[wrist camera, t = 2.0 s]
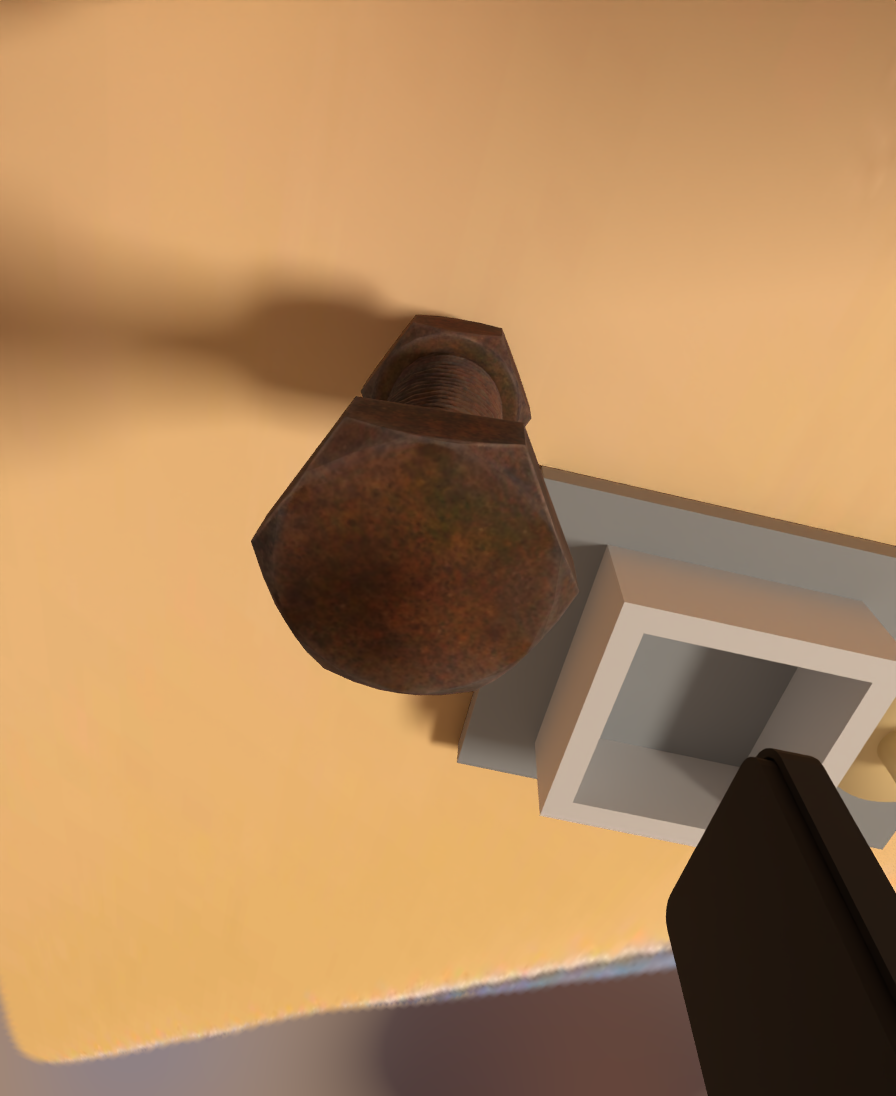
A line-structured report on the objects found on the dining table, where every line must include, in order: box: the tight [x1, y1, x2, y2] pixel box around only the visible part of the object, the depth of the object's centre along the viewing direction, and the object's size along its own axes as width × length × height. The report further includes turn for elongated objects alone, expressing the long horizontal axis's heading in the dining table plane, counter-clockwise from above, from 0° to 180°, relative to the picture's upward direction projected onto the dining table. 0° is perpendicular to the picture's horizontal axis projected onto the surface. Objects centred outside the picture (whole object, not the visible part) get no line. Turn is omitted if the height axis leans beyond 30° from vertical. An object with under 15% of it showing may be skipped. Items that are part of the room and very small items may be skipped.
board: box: [457, 466, 896, 849], centre depth 28 cm, size 20×14×7 cm
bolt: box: [251, 315, 579, 695], centre depth 19 cm, size 6×5×15 cm
